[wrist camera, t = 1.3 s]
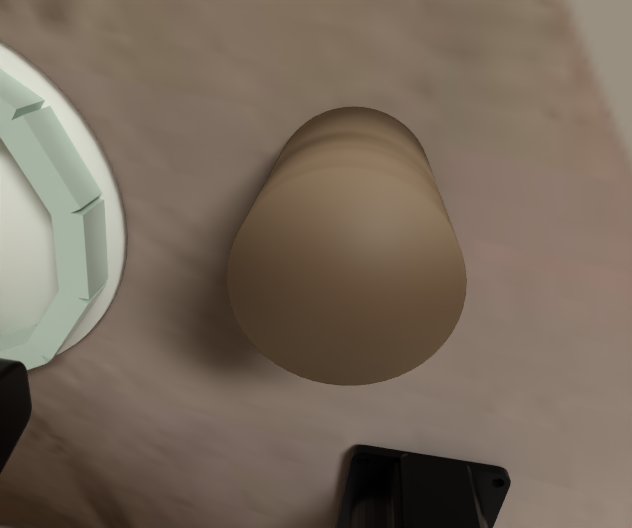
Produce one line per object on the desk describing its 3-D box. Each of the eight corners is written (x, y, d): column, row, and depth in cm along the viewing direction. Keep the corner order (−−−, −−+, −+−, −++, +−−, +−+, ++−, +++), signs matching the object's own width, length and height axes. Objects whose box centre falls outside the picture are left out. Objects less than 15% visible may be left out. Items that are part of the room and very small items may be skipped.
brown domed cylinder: (412, 265, 19) (435, 400, 12) (269, 243, 19) (220, 367, 13) (447, 119, 16) (496, 195, 10) (284, 95, 17) (233, 156, 10)
